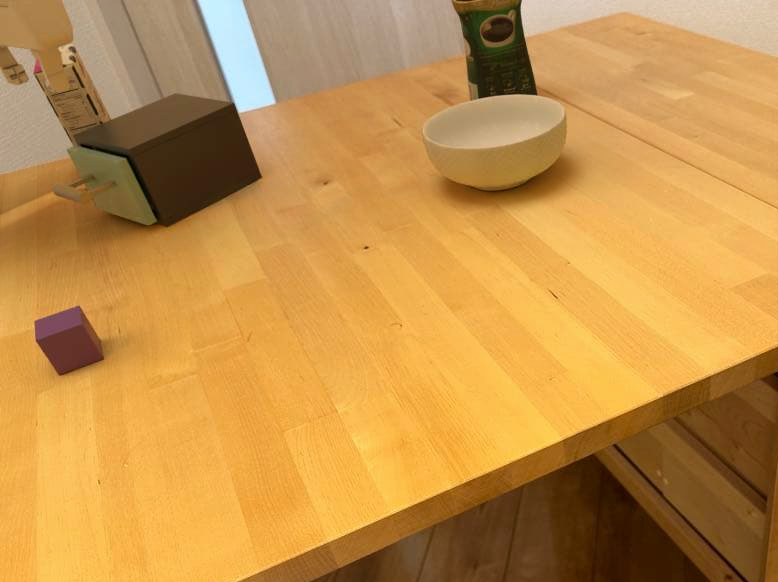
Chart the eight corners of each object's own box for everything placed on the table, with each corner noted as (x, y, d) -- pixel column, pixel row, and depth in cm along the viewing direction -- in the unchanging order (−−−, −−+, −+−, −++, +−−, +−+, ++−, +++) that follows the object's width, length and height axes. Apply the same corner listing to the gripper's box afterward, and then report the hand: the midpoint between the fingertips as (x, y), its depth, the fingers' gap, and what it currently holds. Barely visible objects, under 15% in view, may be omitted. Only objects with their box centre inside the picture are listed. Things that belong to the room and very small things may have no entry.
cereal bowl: (590, 187, 86) (585, 125, 82) (448, 222, 84) (435, 160, 80) (548, 137, 99) (541, 81, 95) (423, 166, 97) (410, 111, 92)
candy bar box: (97, 170, 111) (35, 51, 100) (132, 160, 112) (75, 42, 102) (97, 197, 103) (30, 71, 92) (136, 186, 104) (74, 60, 93)
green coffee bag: (528, 89, 114) (510, -52, 103) (543, 105, 108) (525, -43, 97) (466, 103, 113) (440, -38, 101) (477, 120, 107) (451, -28, 95)
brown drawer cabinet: (167, 227, 92) (129, 149, 86) (111, 209, 99) (72, 135, 93) (262, 177, 101) (234, 102, 95) (205, 163, 107) (175, 93, 101)
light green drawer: (113, 244, 88) (78, 179, 83) (63, 226, 94) (28, 165, 89) (239, 178, 99) (215, 118, 94) (187, 166, 105) (162, 108, 100)
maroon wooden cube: (56, 355, 73) (33, 320, 70) (100, 339, 74) (79, 305, 72) (59, 375, 70) (35, 340, 68) (104, 359, 71) (82, 323, 69)
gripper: (-114, -52, 77) (-31, 88, 86) (-25, -52, 67) (58, 106, 76) (-50, -66, 81) (22, 69, 90) (43, -68, 71) (114, 85, 80)
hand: (39, 86), depth 83 cm, fingers open, 8 cm apart
